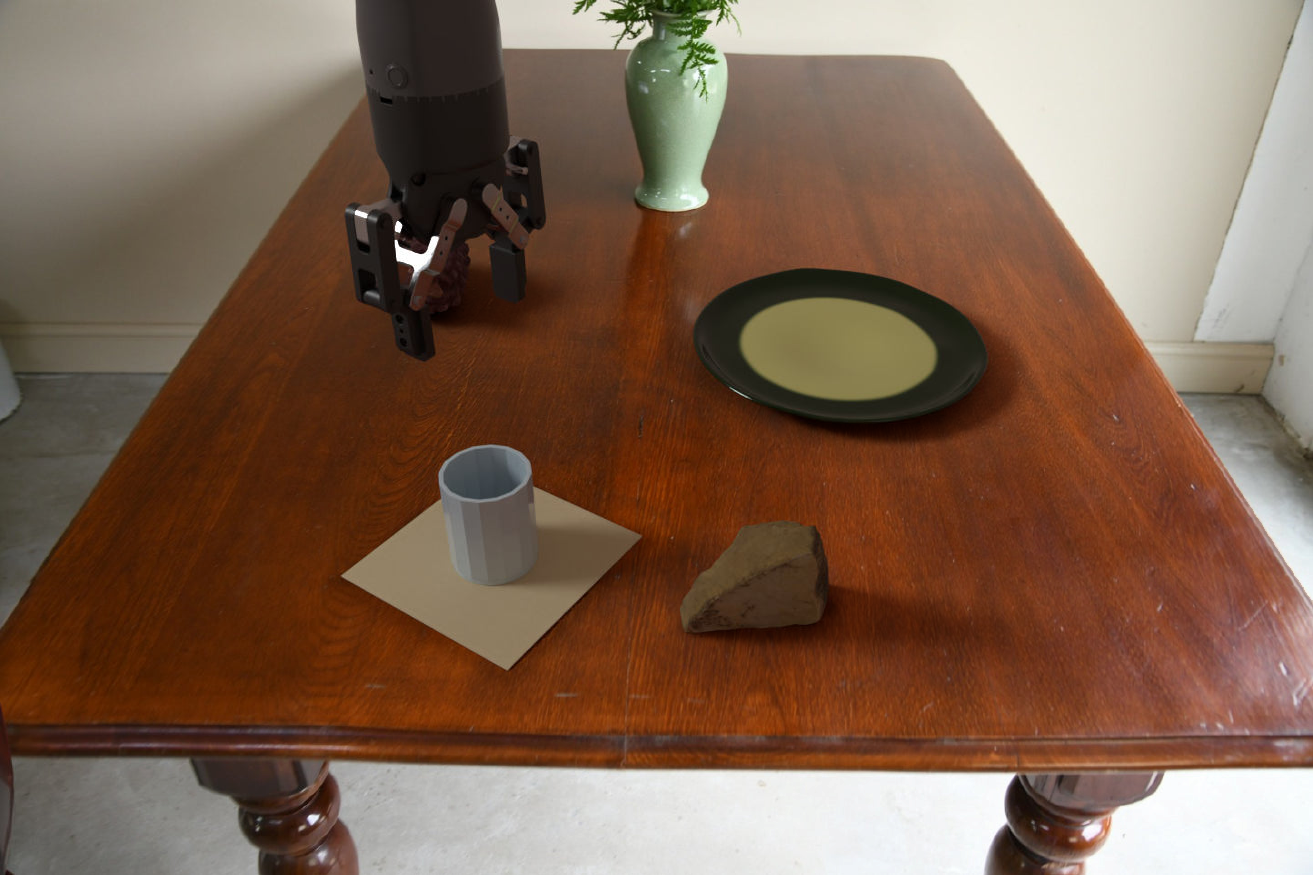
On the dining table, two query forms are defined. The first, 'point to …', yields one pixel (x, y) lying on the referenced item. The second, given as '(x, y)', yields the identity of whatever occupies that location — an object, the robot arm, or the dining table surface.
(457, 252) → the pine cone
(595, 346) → the dining table surface
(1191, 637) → the dining table surface
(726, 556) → the rock
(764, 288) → the plate
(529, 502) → the cup
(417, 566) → the mat
